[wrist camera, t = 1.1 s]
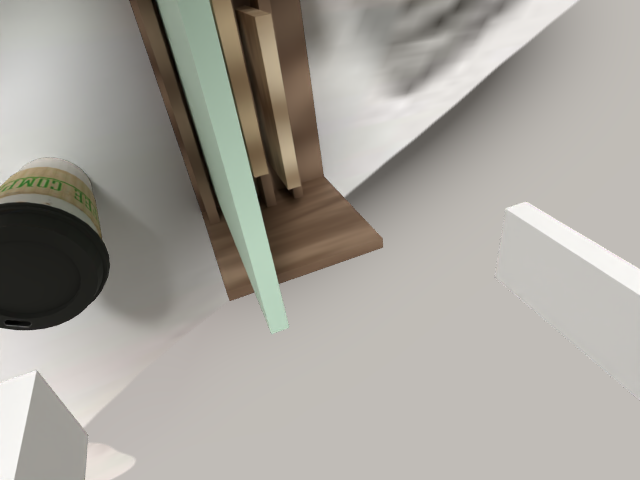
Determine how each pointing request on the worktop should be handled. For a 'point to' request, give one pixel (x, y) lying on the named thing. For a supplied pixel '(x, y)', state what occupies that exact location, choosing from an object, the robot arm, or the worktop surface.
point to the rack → (273, 196)
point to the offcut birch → (268, 91)
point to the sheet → (222, 143)
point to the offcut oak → (239, 84)
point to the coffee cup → (49, 246)
